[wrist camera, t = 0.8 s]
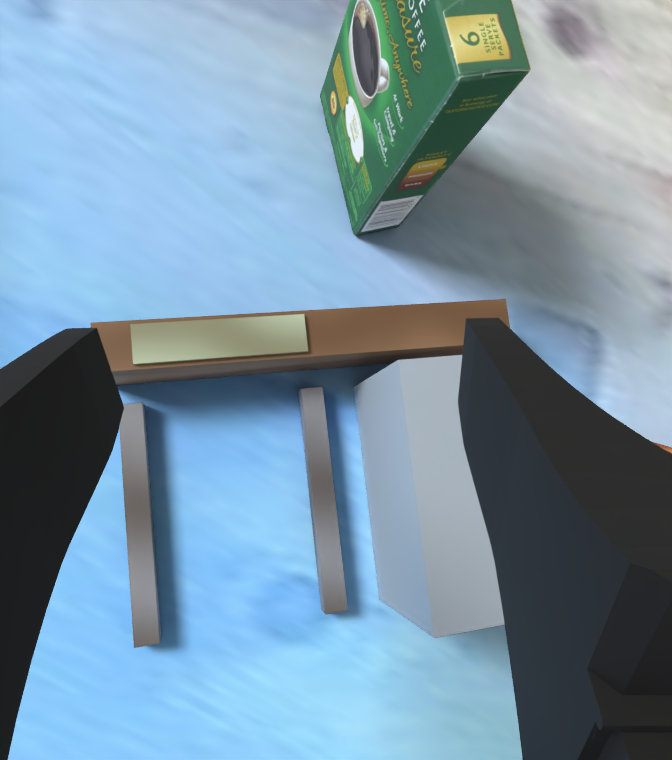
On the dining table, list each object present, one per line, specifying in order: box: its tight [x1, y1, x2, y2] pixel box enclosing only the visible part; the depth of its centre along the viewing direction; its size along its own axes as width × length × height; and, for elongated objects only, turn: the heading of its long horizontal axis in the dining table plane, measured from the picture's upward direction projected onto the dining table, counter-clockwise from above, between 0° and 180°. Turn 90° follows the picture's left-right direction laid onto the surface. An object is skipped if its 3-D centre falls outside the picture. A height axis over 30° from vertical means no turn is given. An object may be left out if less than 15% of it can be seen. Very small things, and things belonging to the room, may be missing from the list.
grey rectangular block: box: [354, 355, 505, 638], centre depth 26 cm, size 10×4×7 cm, turn 7°
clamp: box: [91, 299, 510, 648], centre depth 26 cm, size 13×18×4 cm
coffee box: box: [320, 0, 531, 235], centre depth 25 cm, size 8×3×13 cm, turn 14°
